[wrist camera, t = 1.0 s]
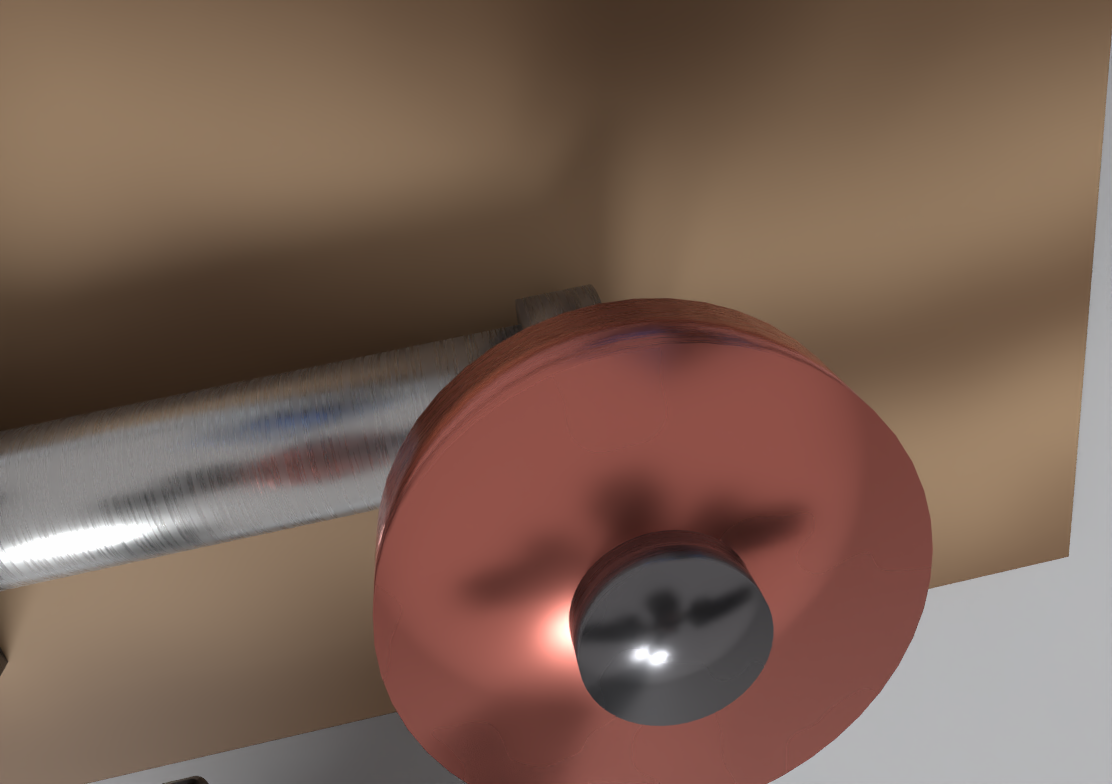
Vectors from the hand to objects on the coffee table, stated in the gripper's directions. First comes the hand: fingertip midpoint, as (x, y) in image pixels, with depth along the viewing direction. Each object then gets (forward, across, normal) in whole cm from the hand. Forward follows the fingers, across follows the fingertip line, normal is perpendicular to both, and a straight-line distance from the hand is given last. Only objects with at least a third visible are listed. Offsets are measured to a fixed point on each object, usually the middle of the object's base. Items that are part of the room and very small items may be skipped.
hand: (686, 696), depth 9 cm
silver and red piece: (+9, +6, 0) cm, 11 cm away
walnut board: (+9, +4, 0) cm, 10 cm away
